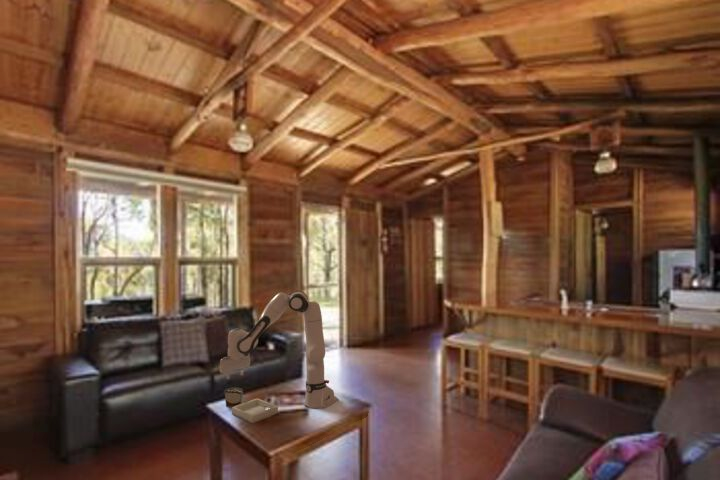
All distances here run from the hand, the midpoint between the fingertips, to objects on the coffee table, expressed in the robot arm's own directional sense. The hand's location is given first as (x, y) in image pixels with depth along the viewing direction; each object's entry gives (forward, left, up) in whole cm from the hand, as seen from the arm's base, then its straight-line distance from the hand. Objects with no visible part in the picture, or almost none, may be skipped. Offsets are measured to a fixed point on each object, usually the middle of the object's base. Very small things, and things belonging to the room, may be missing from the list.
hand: (235, 376), depth 256 cm
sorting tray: (0, +20, -18) cm, 27 cm away
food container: (0, 0, -18) cm, 18 cm away
